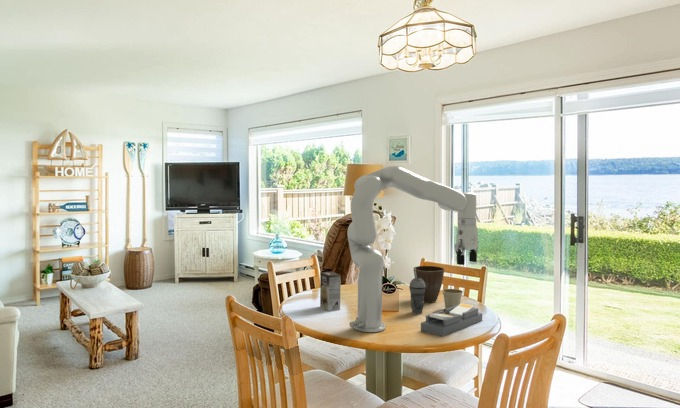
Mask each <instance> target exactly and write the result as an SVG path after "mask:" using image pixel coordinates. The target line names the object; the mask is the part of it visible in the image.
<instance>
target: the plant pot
mask: <svg viewBox="0 0 680 408" xmlns="http://www.w3.org/2000/svg"><path fill="white" fill-rule="evenodd" d="M412 268H413V274H414V275H413V276H414V277H415V269H414V268H416V276H417V278H421V279H422V280H423V281H424V282H425V286H426V288H425V292H424V303H435V302H437V300H438V297H439V295H440V292H441V289H442V285H443V280H444V275H445V268H444V267H441V266H435V265H418V266H415V267H414V266H413V267H412Z"/></svg>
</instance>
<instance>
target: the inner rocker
mask: <svg viewBox="0 0 680 408" xmlns="http://www.w3.org/2000/svg"><path fill="white" fill-rule="evenodd" d="M429 315H430V317H433V318H437V319H441V320H444V319H447V318H450V317H453V316H451V315H447V314H445V313H444V314H433V313H430V314H429Z"/></svg>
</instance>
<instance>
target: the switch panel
mask: <svg viewBox="0 0 680 408" xmlns="http://www.w3.org/2000/svg"><path fill="white" fill-rule="evenodd" d="M457 306H458V305H457ZM457 306H454V307H451V308H448V309H445V308H444V309H445V310H440V311H437V312H436V311H435V312H434V313H432V314H447V315H449V312H450V311H451V310H453V309H454V308H455V307H457ZM474 308H475V309H472V310H469V311H466V312H464V313H462V318H461V315H459V314H458V315H455V316H453V317H450V318H447V319H444V320H441V319H437V318H433V317H430V314H428V315H425V321H422V322H421V323H420V331H421V332H424V333H429V334H433V335H436V336H440V337H445V336H447V335H450V334H453V333H455V332H457V331H460V330H462V329H464V328H467V327H470V326H472V325H474V324H477V323H479V322H482V321H483V313H482V312H479V308H478V307H474ZM444 312H445V313H444ZM451 316H452V315H451Z"/></svg>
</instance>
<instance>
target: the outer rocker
mask: <svg viewBox="0 0 680 408" xmlns="http://www.w3.org/2000/svg"><path fill="white" fill-rule="evenodd" d="M475 308H476V307H475V306H474V305H472V304H468V303H461V302H460V305H458V306H457V307H455V308H454V309H453V310H451V311H450V312H449V315H452V316H455V315H458V314H459V315H461V318H462V313H464V312H466V311H469V310H472V309H475Z"/></svg>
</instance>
